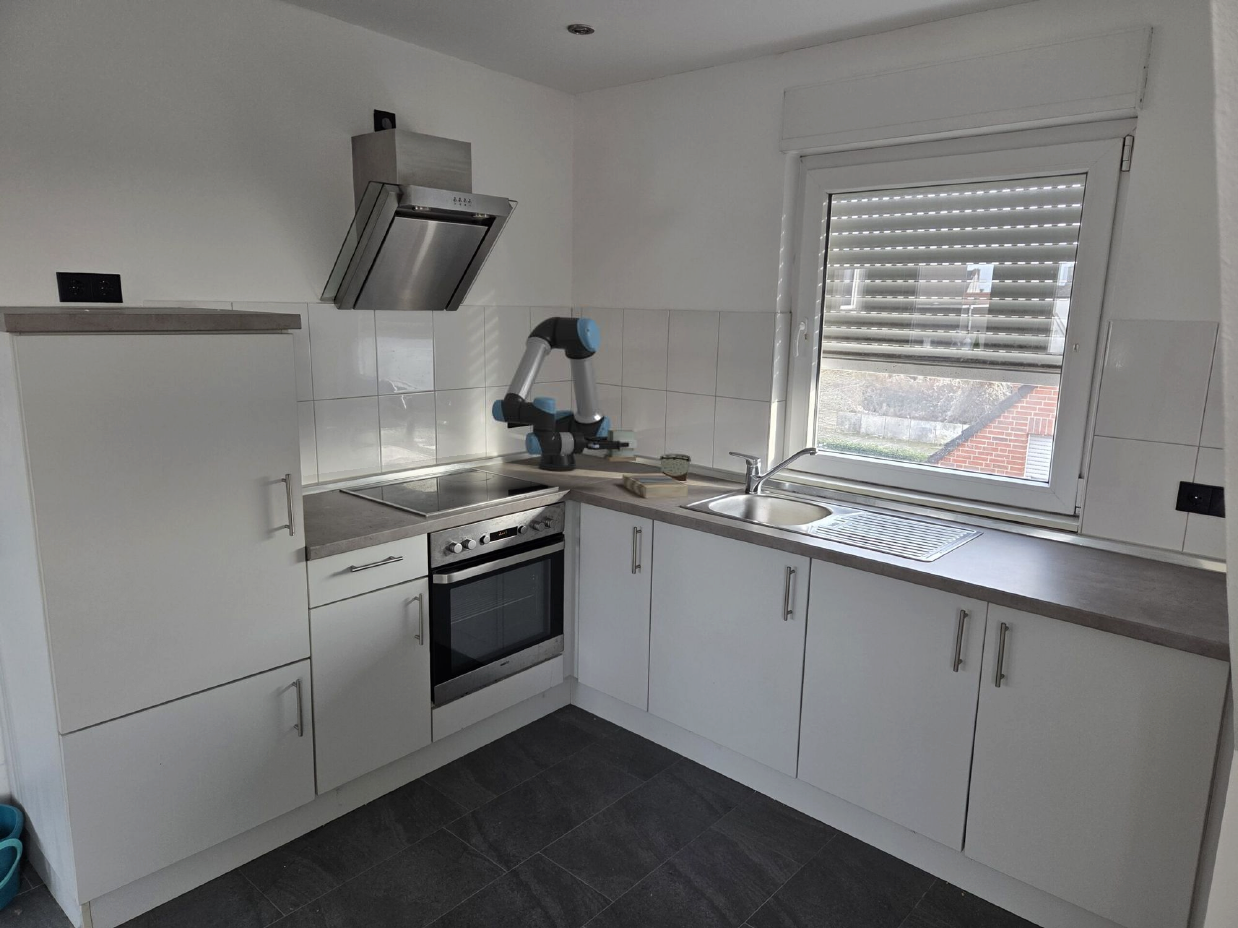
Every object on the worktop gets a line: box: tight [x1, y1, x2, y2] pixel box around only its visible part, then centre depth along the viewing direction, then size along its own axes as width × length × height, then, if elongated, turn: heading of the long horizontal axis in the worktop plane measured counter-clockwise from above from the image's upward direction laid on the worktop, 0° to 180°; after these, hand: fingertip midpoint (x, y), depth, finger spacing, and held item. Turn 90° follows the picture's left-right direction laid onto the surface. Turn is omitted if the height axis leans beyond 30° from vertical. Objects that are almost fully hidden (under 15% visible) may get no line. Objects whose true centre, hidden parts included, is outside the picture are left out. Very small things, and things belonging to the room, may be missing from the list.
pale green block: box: [603, 428, 637, 463], centre depth 287 cm, size 6×10×10 cm, turn 111°
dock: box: [621, 472, 689, 499], centre depth 295 cm, size 22×16×4 cm
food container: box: [659, 453, 692, 482], centre depth 315 cm, size 12×6×10 cm, turn 84°
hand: (632, 442), depth 288 cm, fingers closed on pale green block, 6 cm apart
